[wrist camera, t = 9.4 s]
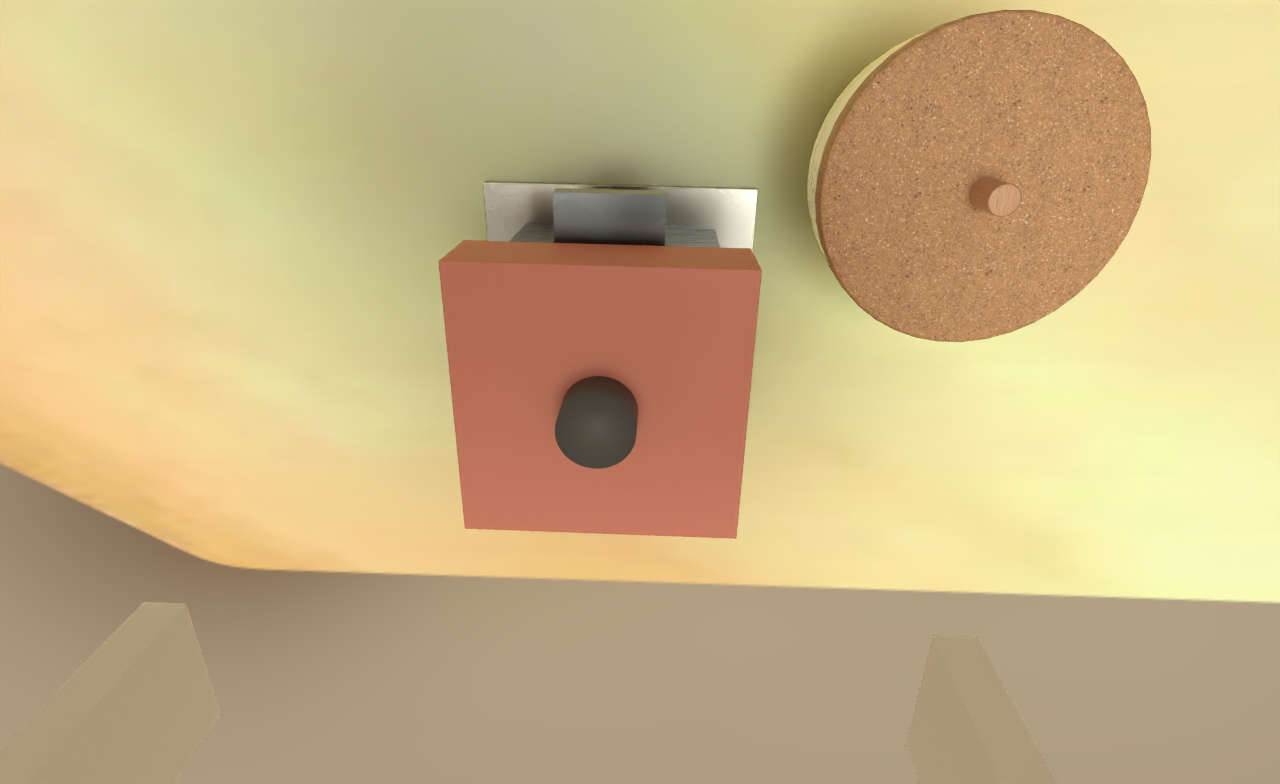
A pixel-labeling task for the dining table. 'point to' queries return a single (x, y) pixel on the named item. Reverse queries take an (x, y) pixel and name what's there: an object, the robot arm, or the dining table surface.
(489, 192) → the metal cube on plate
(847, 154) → the lidded jar
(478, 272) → the lid
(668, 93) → the dining table surface
